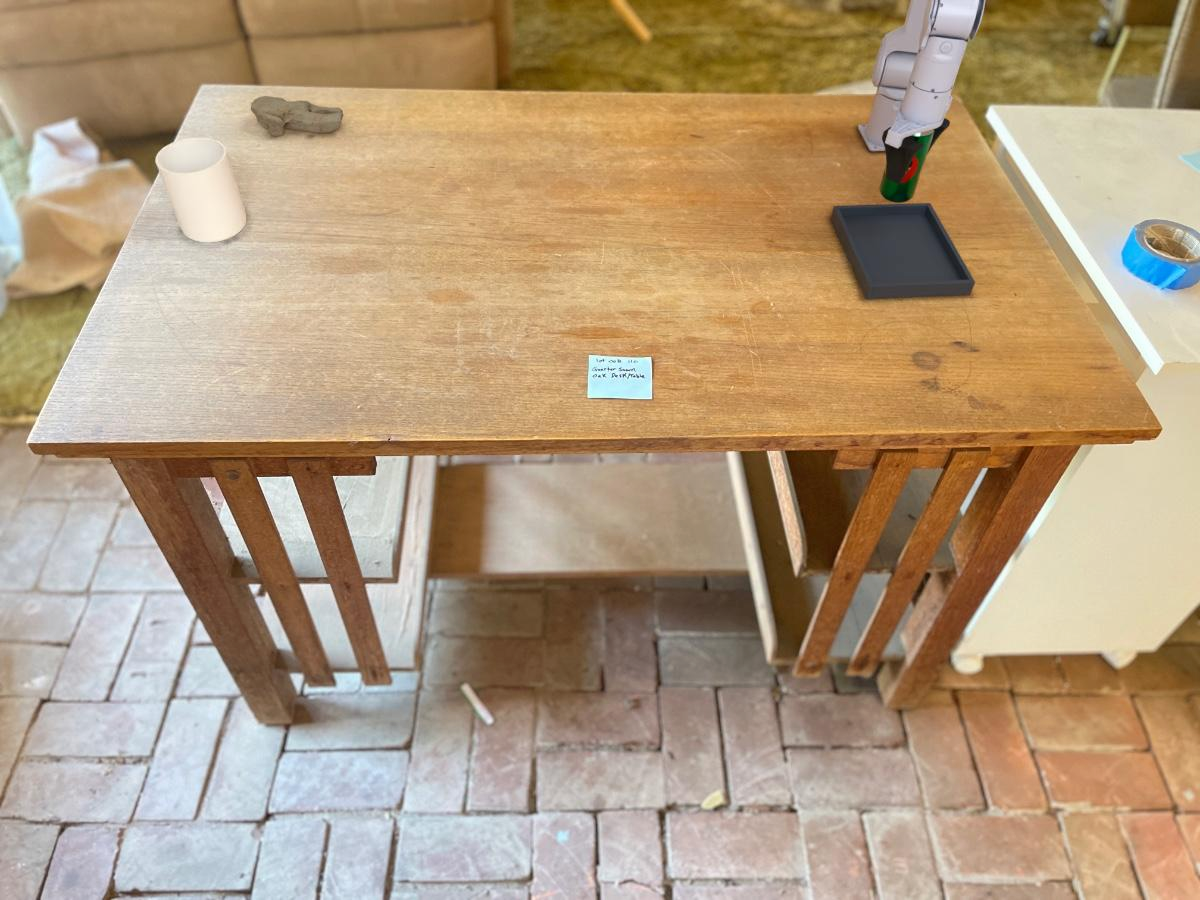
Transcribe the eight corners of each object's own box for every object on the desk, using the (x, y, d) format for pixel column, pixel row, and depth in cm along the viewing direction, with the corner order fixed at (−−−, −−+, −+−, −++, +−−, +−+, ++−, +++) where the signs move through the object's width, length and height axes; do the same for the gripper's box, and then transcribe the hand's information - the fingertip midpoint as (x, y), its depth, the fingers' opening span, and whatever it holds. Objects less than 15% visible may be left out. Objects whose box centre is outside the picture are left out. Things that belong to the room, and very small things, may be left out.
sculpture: (349, 121, 158) (260, 112, 157) (346, 96, 154) (255, 86, 153) (342, 145, 154) (250, 136, 153) (339, 120, 150) (245, 111, 149)
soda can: (918, 202, 134) (944, 127, 125) (887, 206, 133) (910, 131, 124) (902, 183, 138) (926, 108, 129) (872, 187, 137) (893, 112, 128)
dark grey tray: (925, 215, 144) (930, 202, 142) (970, 295, 131) (975, 282, 129) (830, 218, 142) (833, 205, 140) (865, 299, 130) (869, 286, 128)
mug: (176, 246, 133) (149, 175, 124) (190, 199, 141) (165, 129, 132) (244, 243, 134) (221, 172, 125) (253, 196, 142) (233, 126, 133)
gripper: (930, 54, 128) (903, 142, 138) (877, 90, 120) (852, 181, 131) (977, 71, 125) (946, 160, 135) (925, 110, 117) (896, 201, 128)
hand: (902, 172), depth 133 cm, fingers closed on soda can, 5 cm apart
